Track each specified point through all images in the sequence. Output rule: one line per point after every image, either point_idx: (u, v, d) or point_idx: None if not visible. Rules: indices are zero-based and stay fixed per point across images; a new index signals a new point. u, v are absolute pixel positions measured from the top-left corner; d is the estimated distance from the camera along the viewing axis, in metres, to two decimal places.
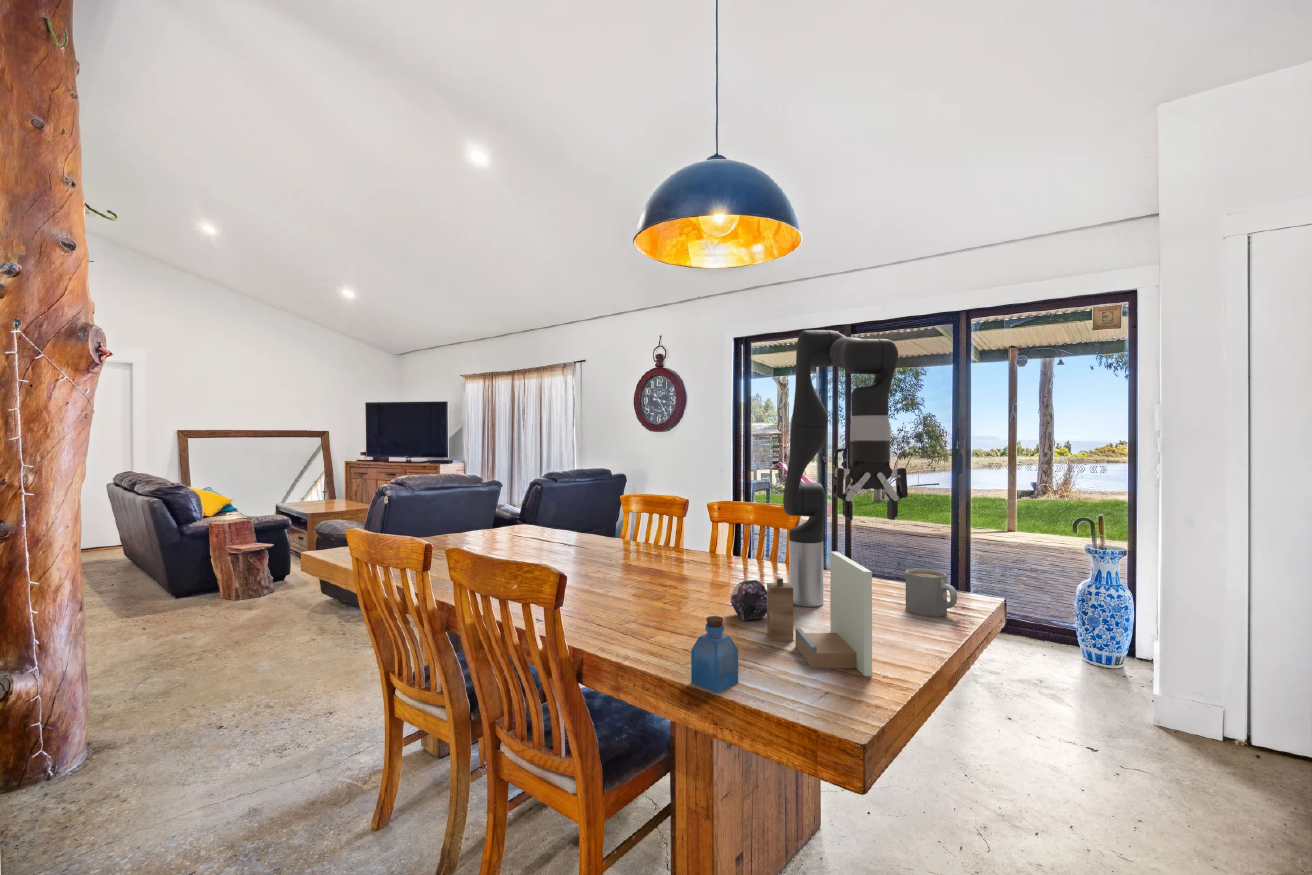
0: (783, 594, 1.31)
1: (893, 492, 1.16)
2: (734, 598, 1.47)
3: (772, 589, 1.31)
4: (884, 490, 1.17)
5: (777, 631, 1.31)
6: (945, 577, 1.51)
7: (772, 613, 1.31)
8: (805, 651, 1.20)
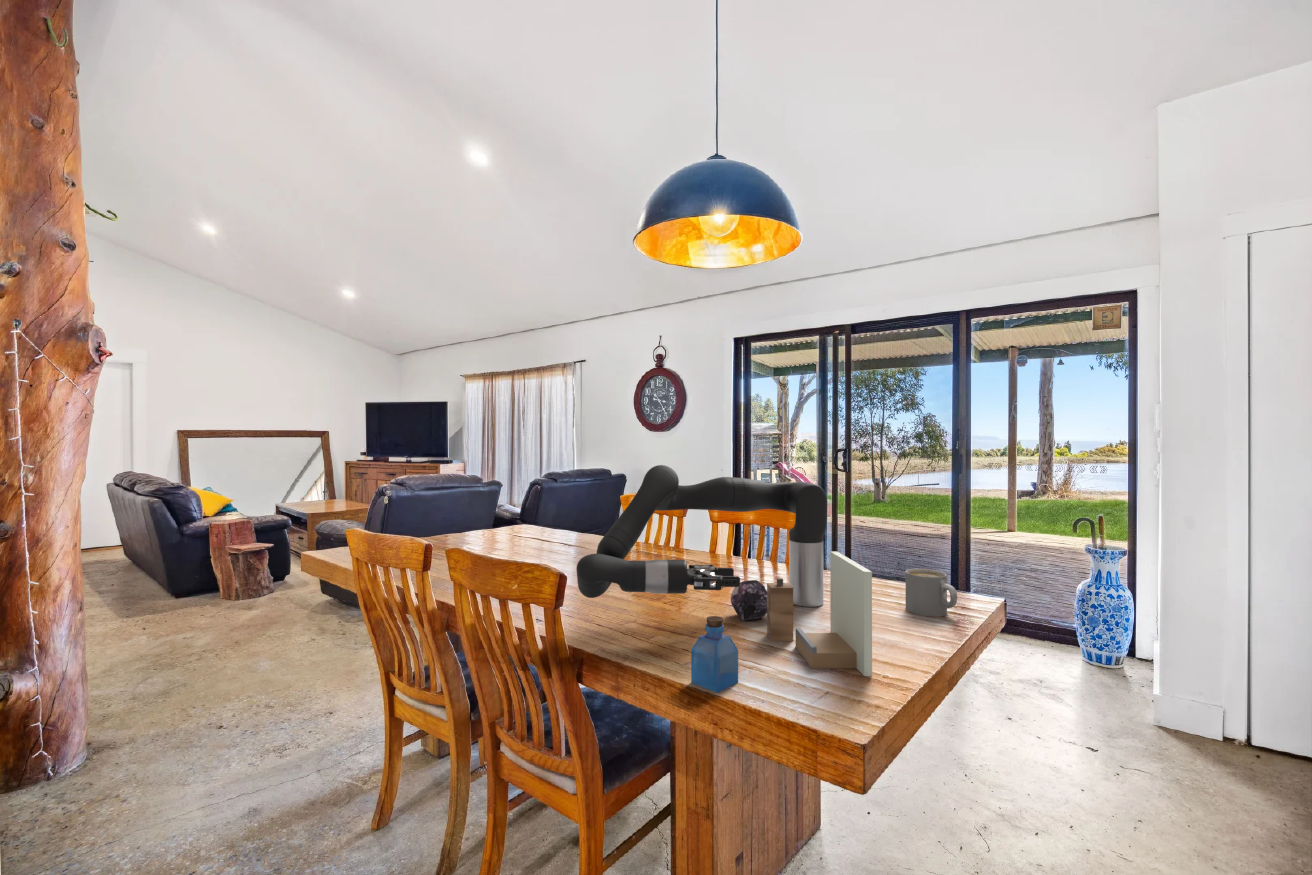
0: (783, 594, 1.31)
1: None
2: (734, 598, 1.47)
3: (772, 589, 1.31)
4: None
5: (777, 631, 1.31)
6: (945, 577, 1.51)
7: (772, 613, 1.31)
8: (805, 651, 1.20)
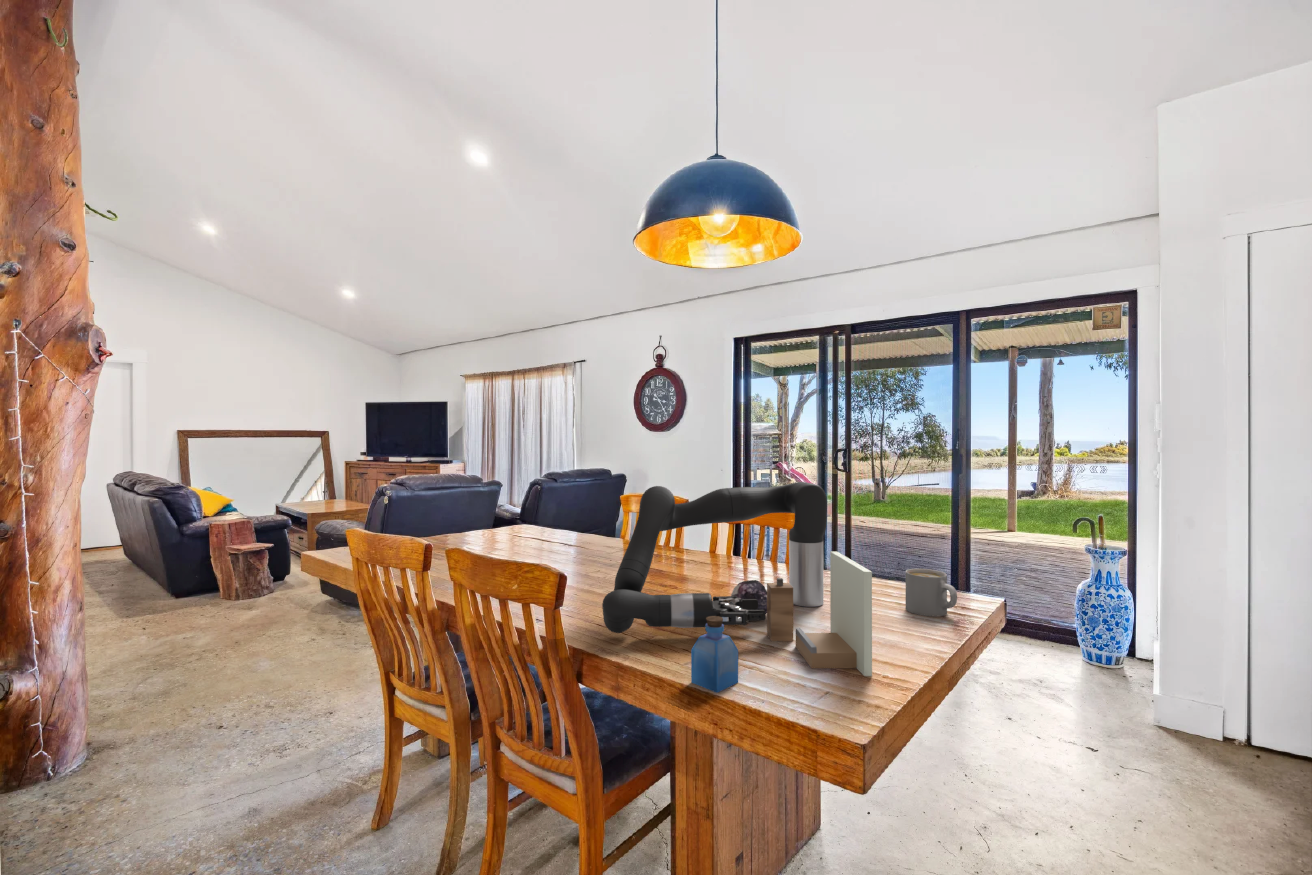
0: (783, 594, 1.31)
1: None
2: None
3: (772, 589, 1.31)
4: None
5: (777, 631, 1.31)
6: (945, 577, 1.51)
7: (772, 613, 1.31)
8: (805, 651, 1.20)
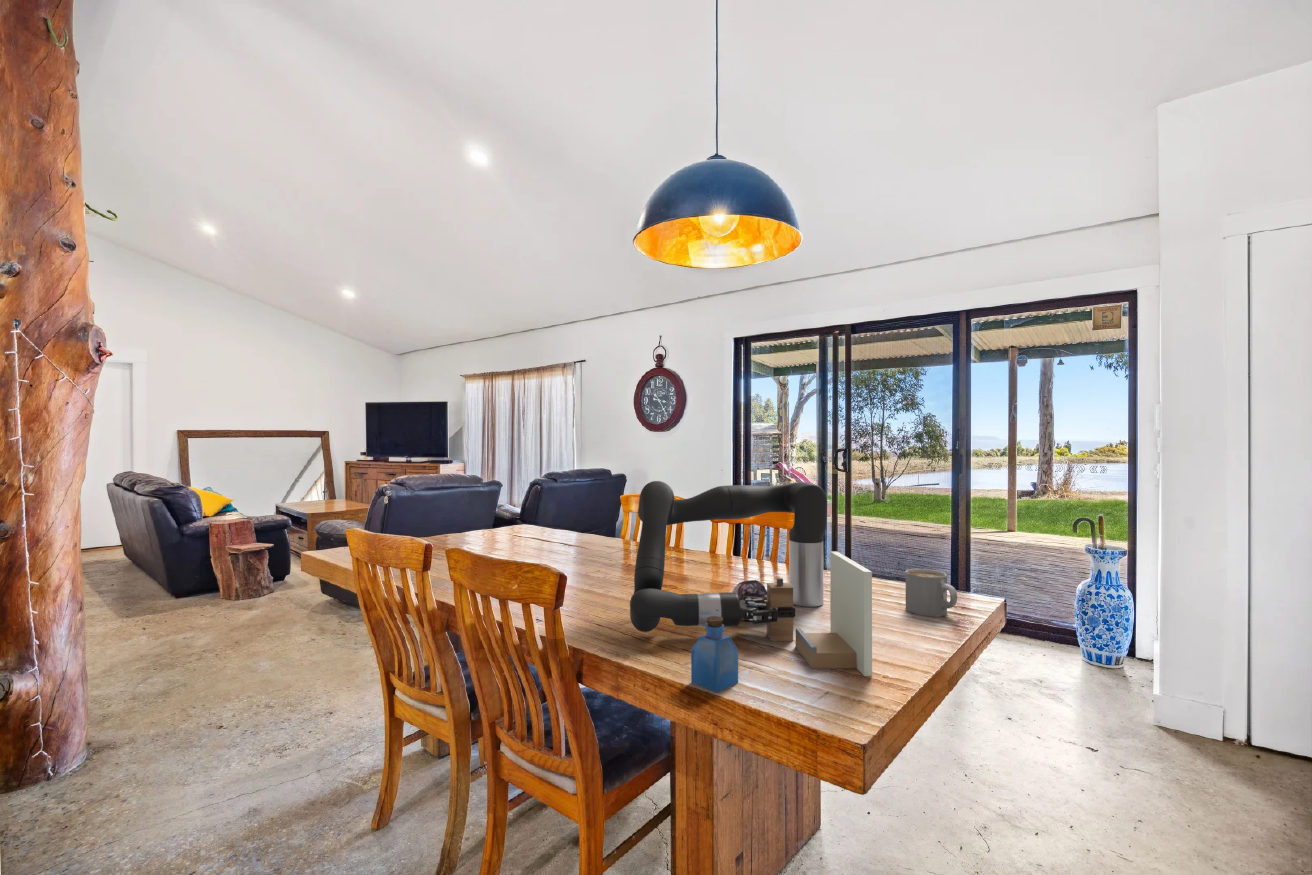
0: (783, 594, 1.31)
1: None
2: None
3: (772, 589, 1.31)
4: None
5: (777, 631, 1.31)
6: (945, 577, 1.51)
7: None
8: (805, 651, 1.20)
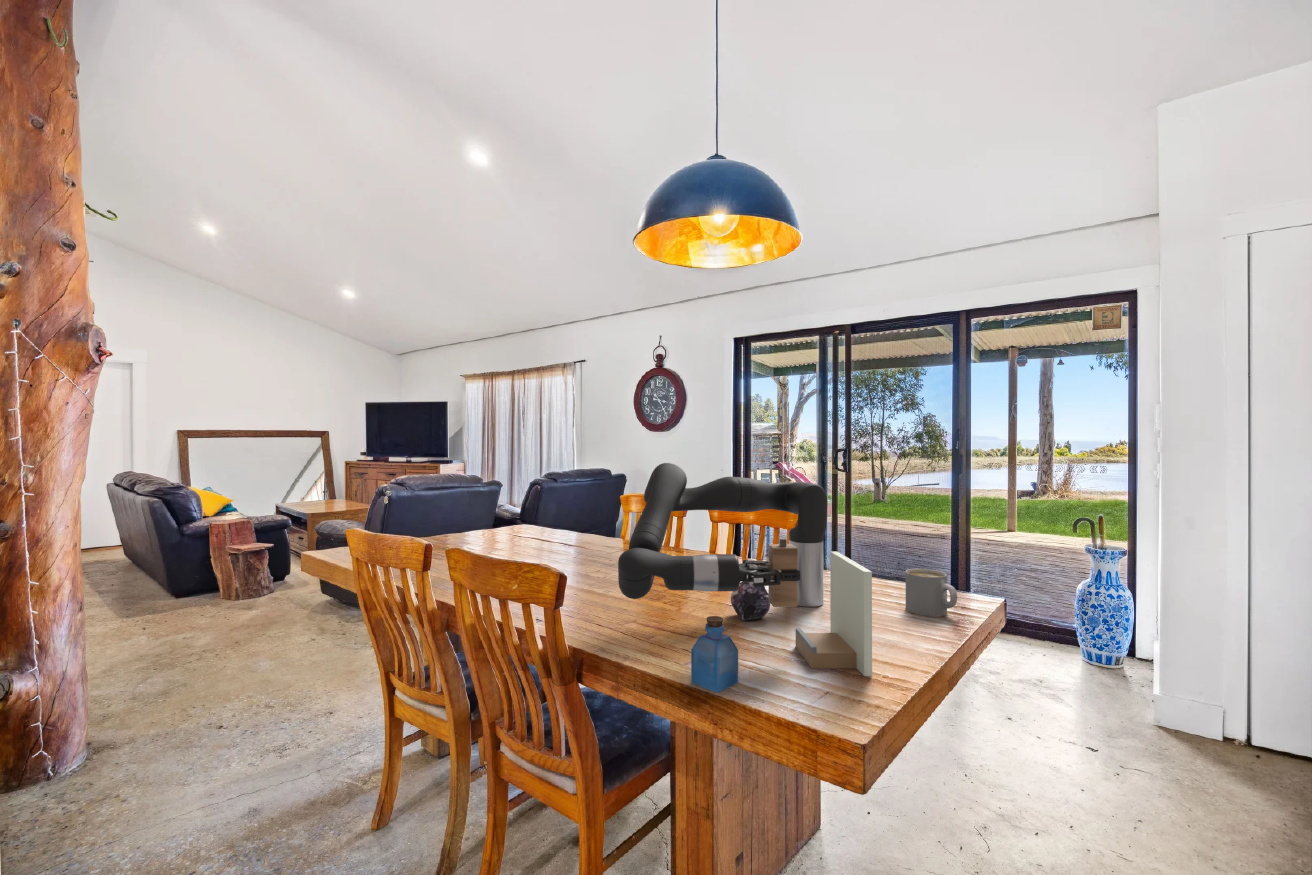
0: (787, 555, 1.19)
1: None
2: (734, 598, 1.47)
3: (774, 550, 1.19)
4: None
5: (780, 596, 1.19)
6: (945, 577, 1.51)
7: None
8: (805, 651, 1.20)
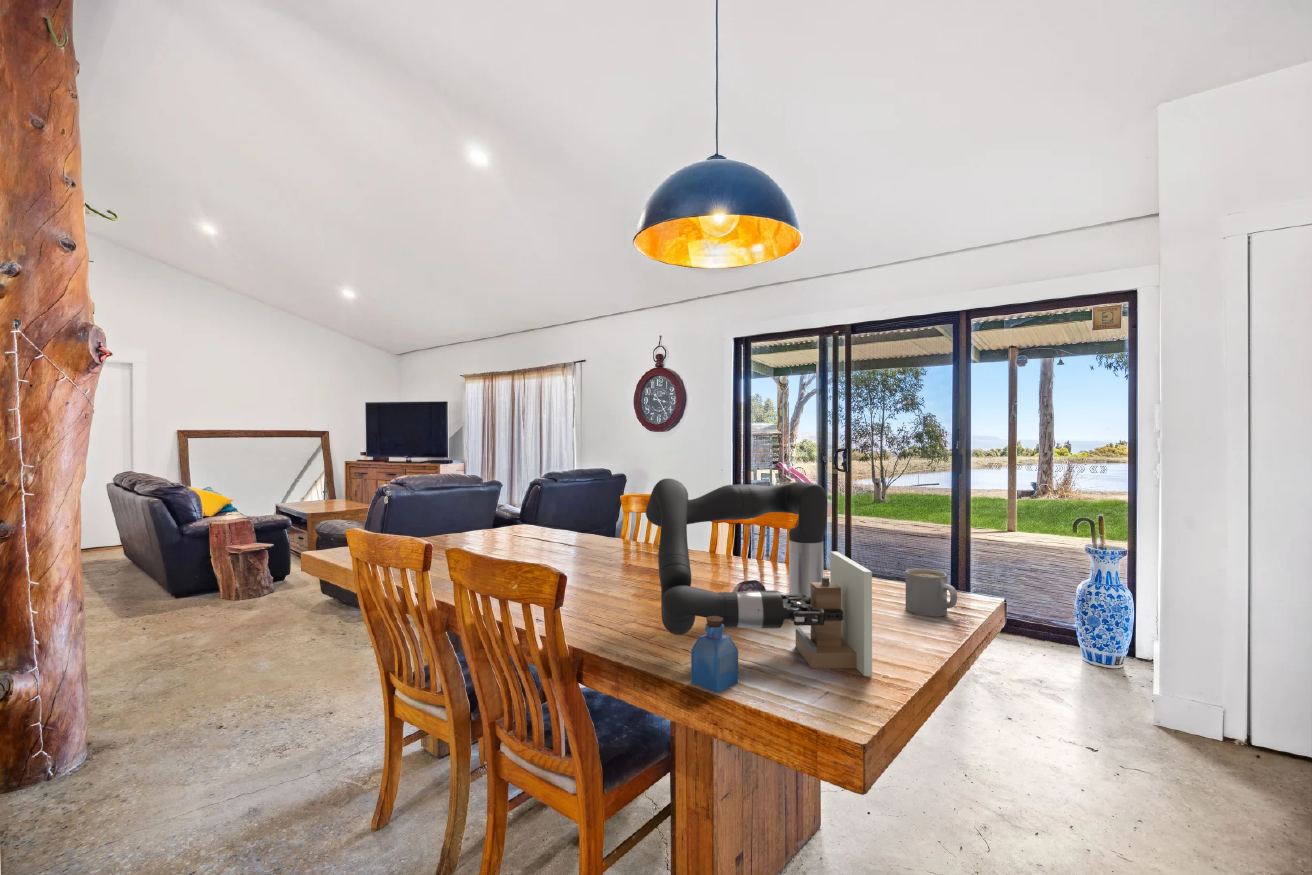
0: (830, 594, 1.20)
1: None
2: None
3: (818, 589, 1.19)
4: None
5: (824, 636, 1.20)
6: (945, 577, 1.51)
7: None
8: (805, 651, 1.20)
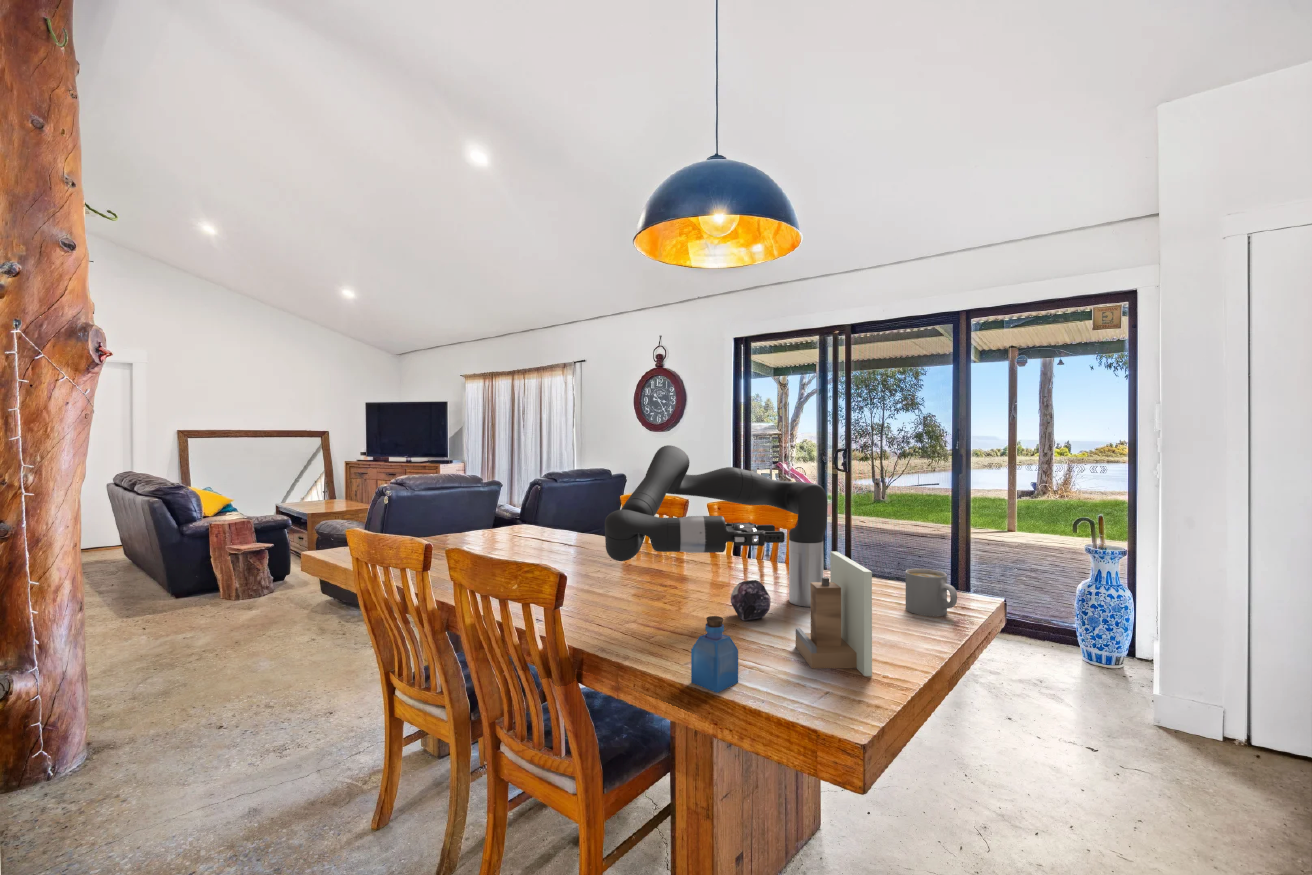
0: (830, 594, 1.20)
1: None
2: (734, 598, 1.47)
3: (818, 589, 1.19)
4: None
5: (824, 636, 1.20)
6: (945, 577, 1.51)
7: (818, 616, 1.19)
8: (805, 651, 1.20)
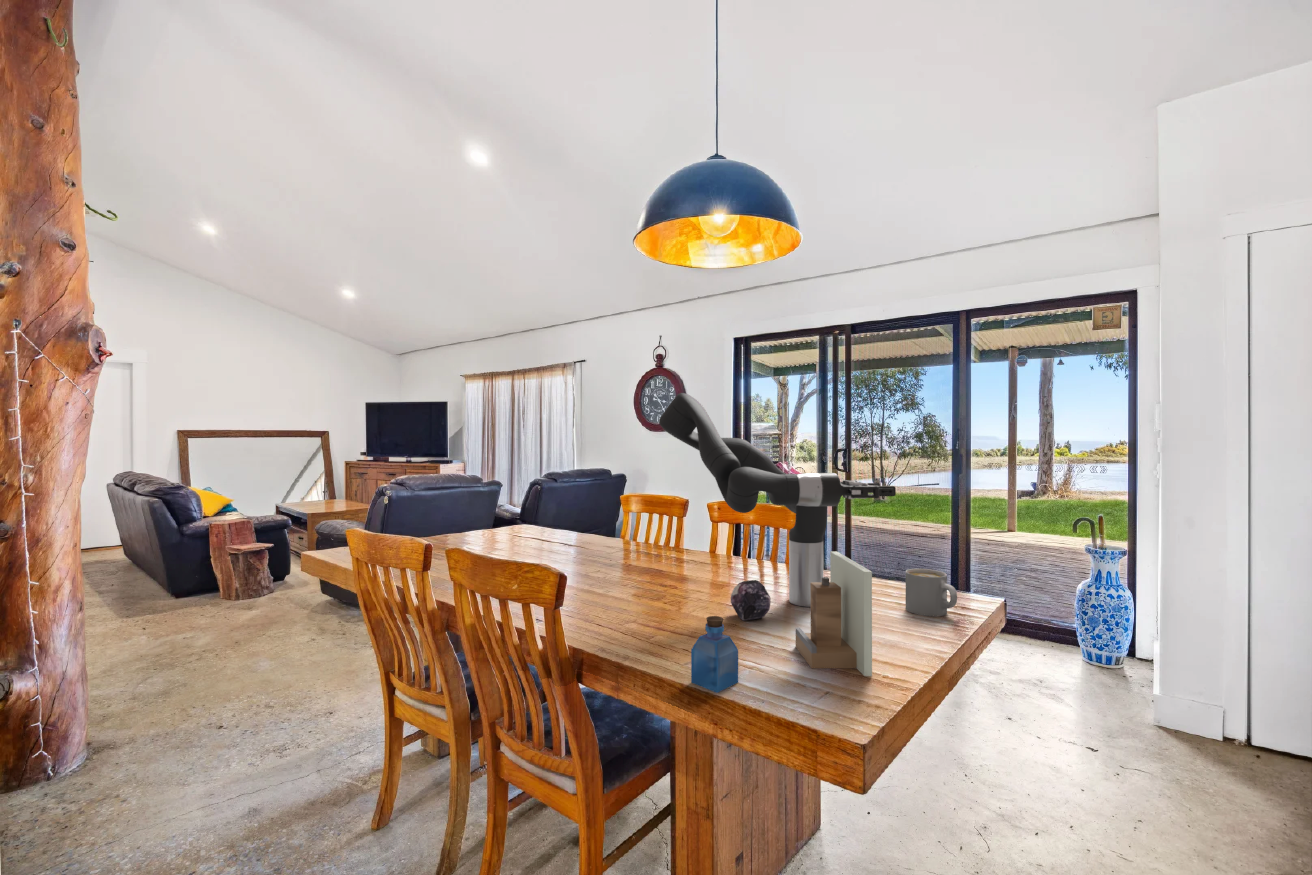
0: (830, 594, 1.20)
1: None
2: (734, 598, 1.47)
3: (818, 589, 1.19)
4: None
5: (824, 636, 1.20)
6: (945, 577, 1.51)
7: (818, 616, 1.19)
8: (805, 651, 1.20)
